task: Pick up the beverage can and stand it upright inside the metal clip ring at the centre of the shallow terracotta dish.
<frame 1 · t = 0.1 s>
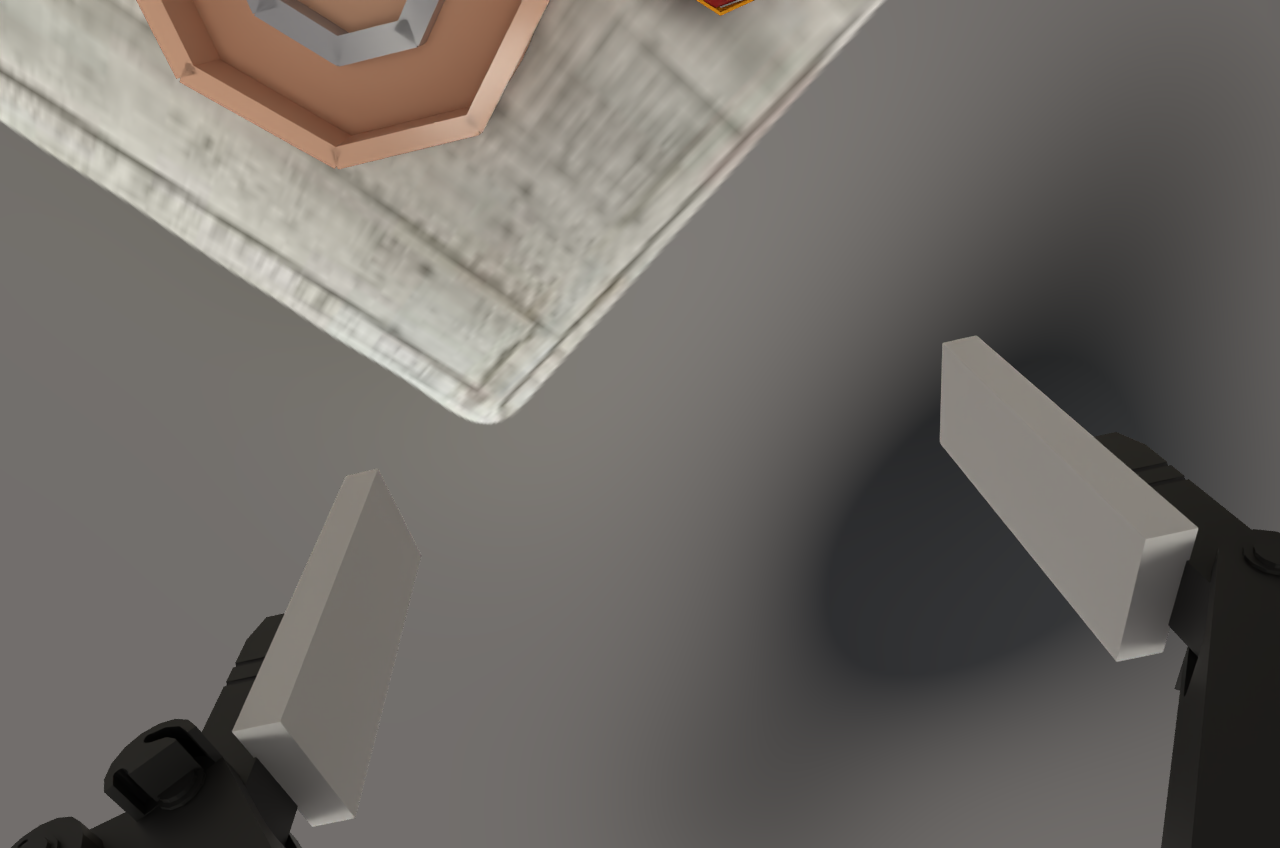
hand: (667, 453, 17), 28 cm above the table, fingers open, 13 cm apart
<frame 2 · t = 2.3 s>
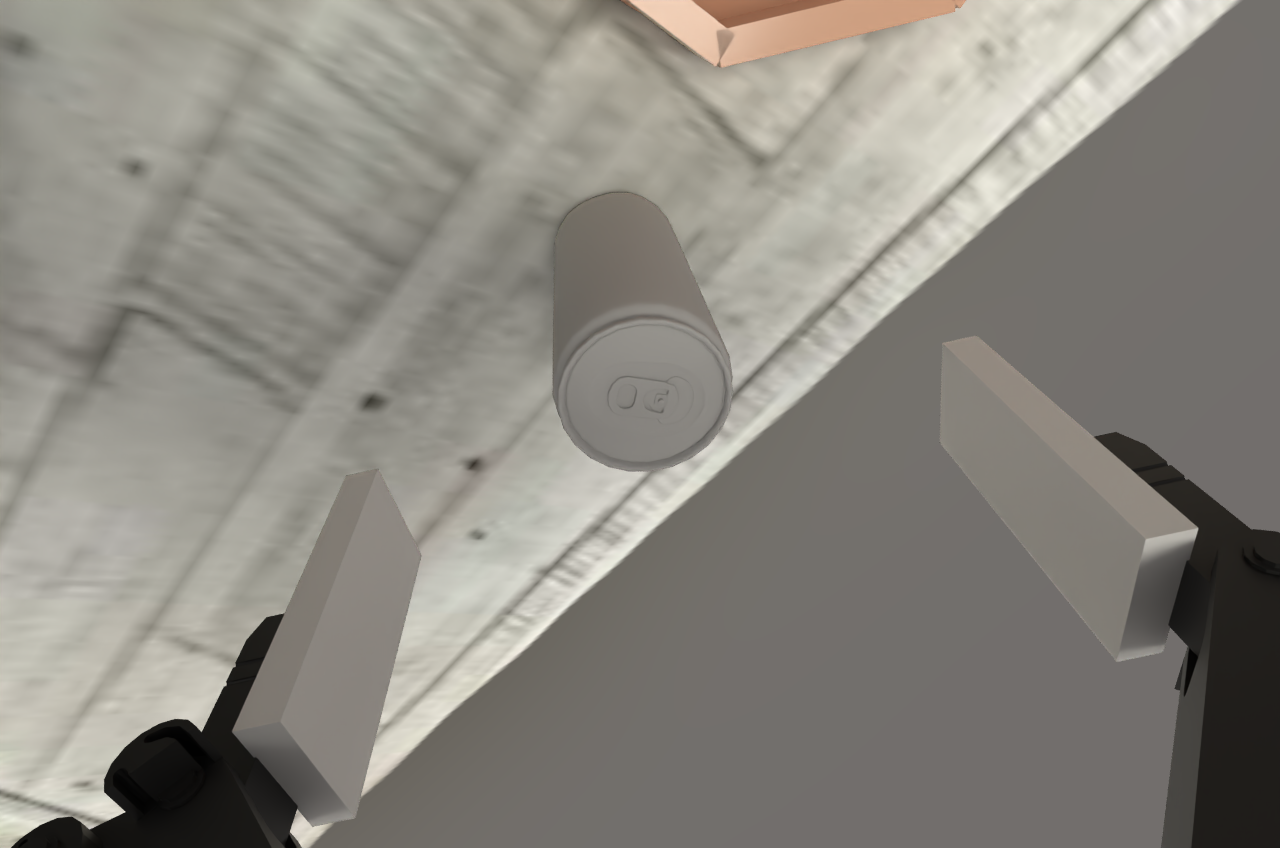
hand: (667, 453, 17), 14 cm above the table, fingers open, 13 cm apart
beverage can: (614, 247, 29), on the table
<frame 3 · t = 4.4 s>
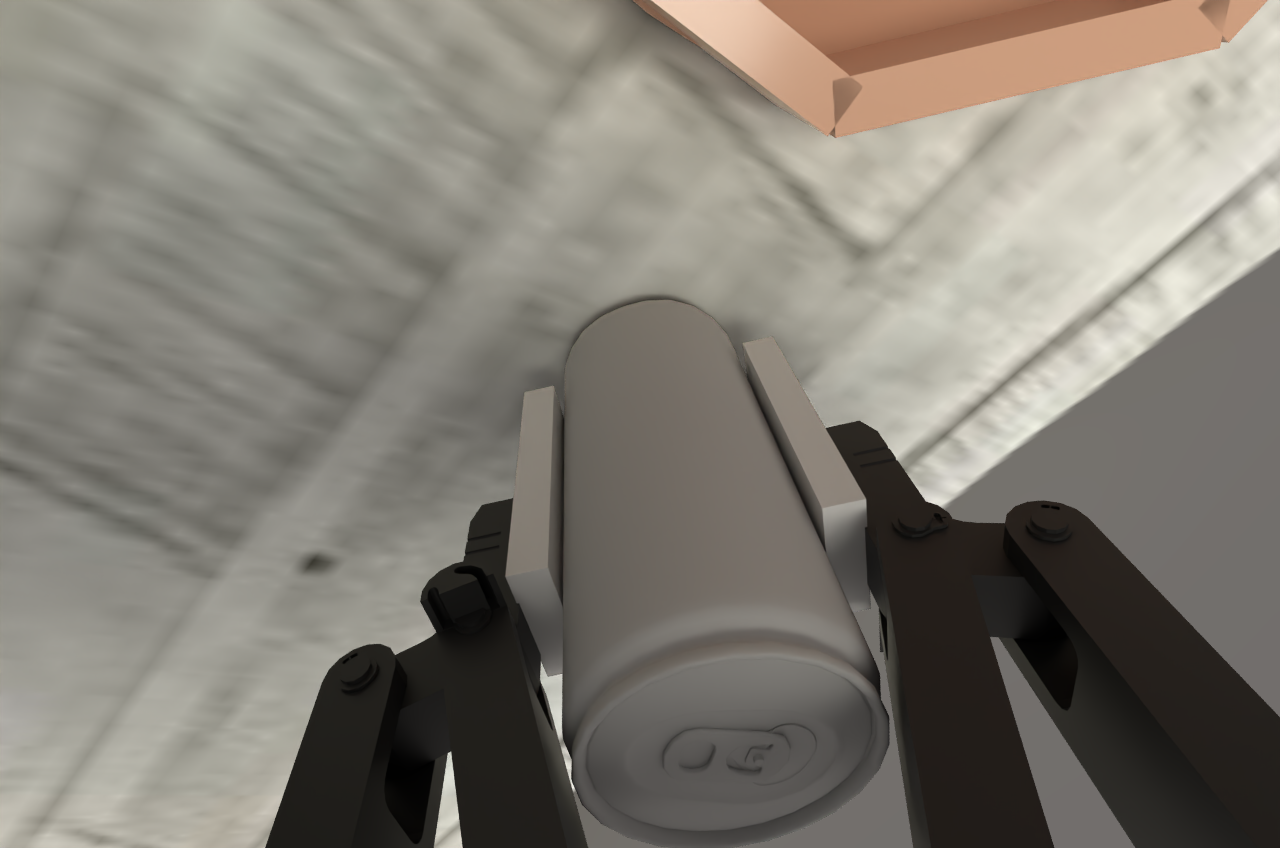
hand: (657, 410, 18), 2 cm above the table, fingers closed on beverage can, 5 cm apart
beverage can: (648, 367, 20), on the table, touching gripper
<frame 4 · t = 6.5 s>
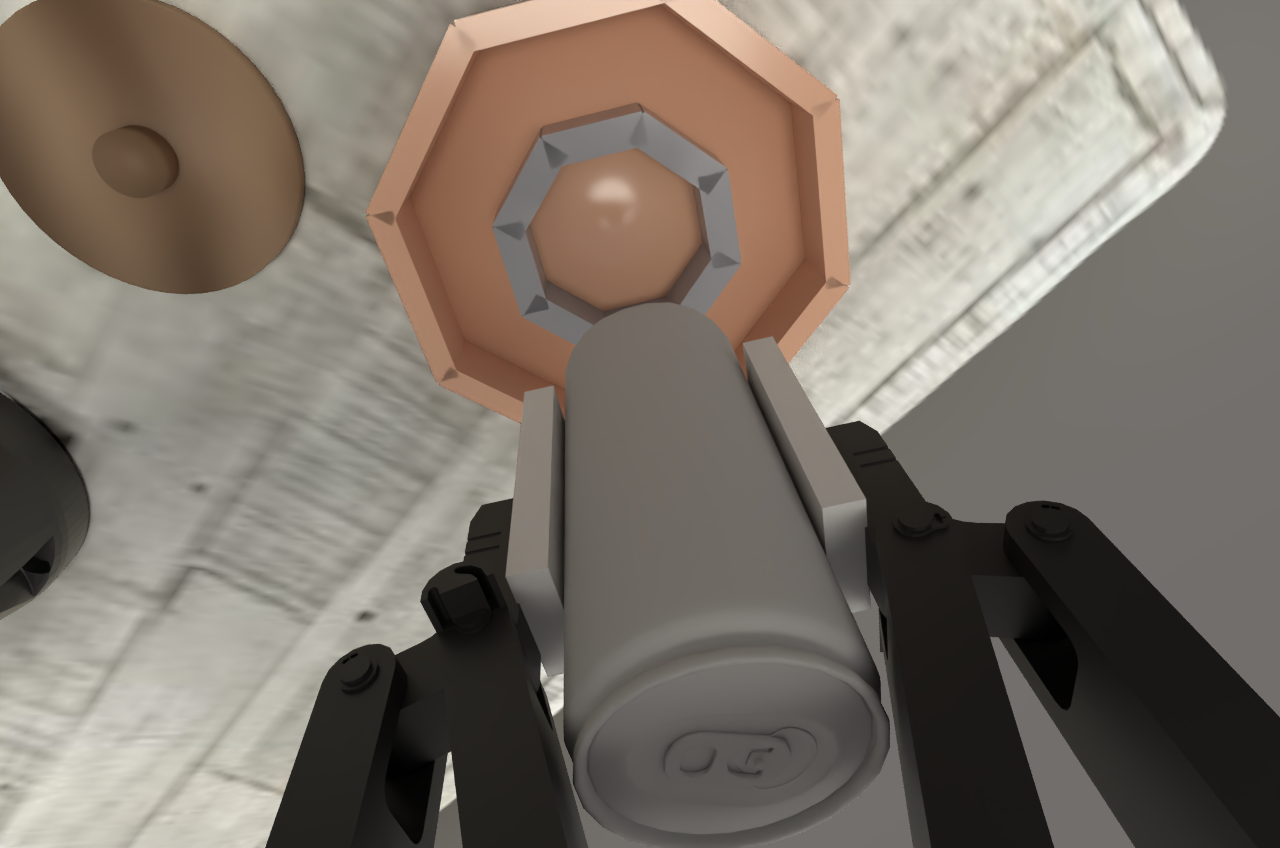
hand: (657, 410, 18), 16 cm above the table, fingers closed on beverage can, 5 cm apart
beverage can: (649, 369, 20), point 13 cm above the table, touching gripper
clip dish: (615, 222, 31), on the table
walnut lid: (162, 151, 29), on the table
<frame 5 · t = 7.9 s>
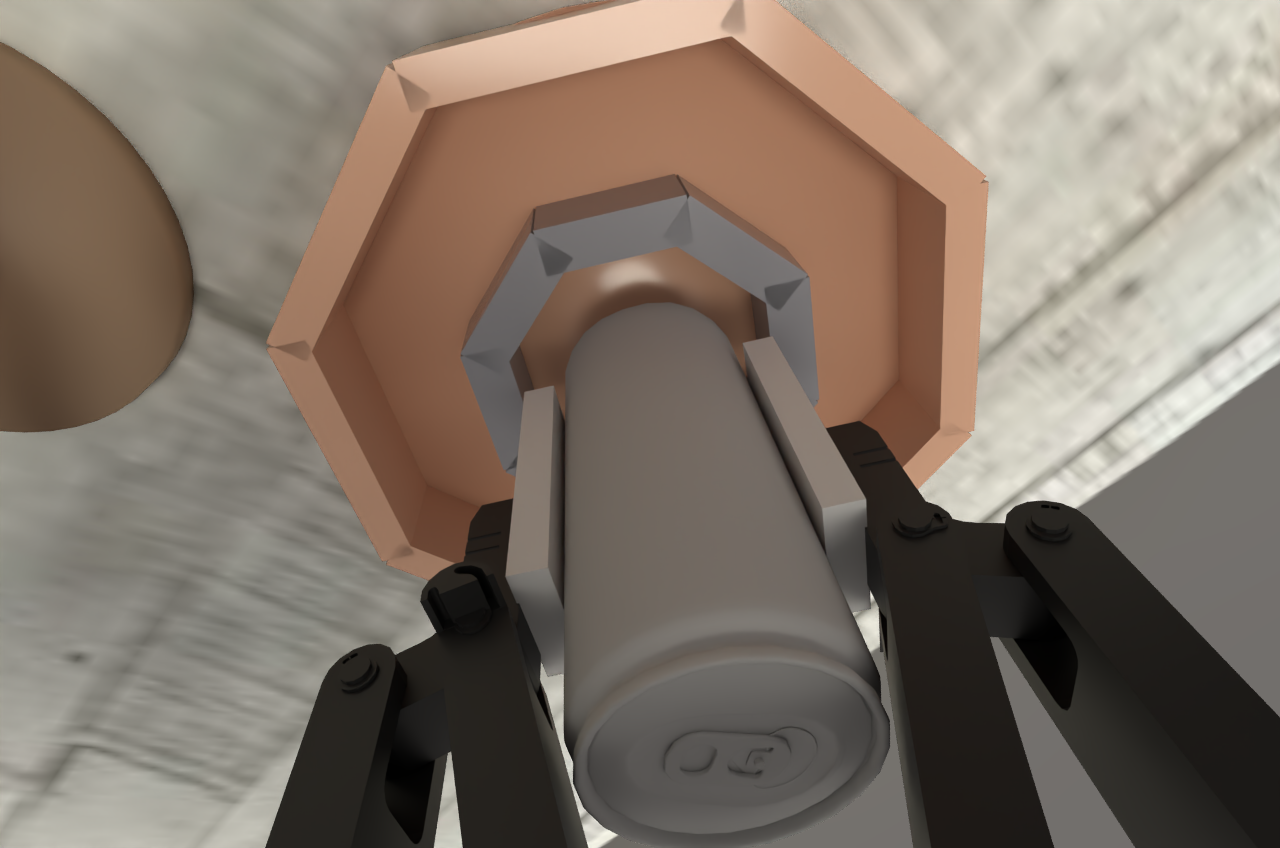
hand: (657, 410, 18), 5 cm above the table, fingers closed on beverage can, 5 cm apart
beverage can: (649, 369, 20), point 2 cm above the table, touching gripper
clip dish: (637, 331, 22), on the table
when the fingers open (4 cm above the table, at t = 8.7 s): beverage can stays where it is, resting on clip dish.
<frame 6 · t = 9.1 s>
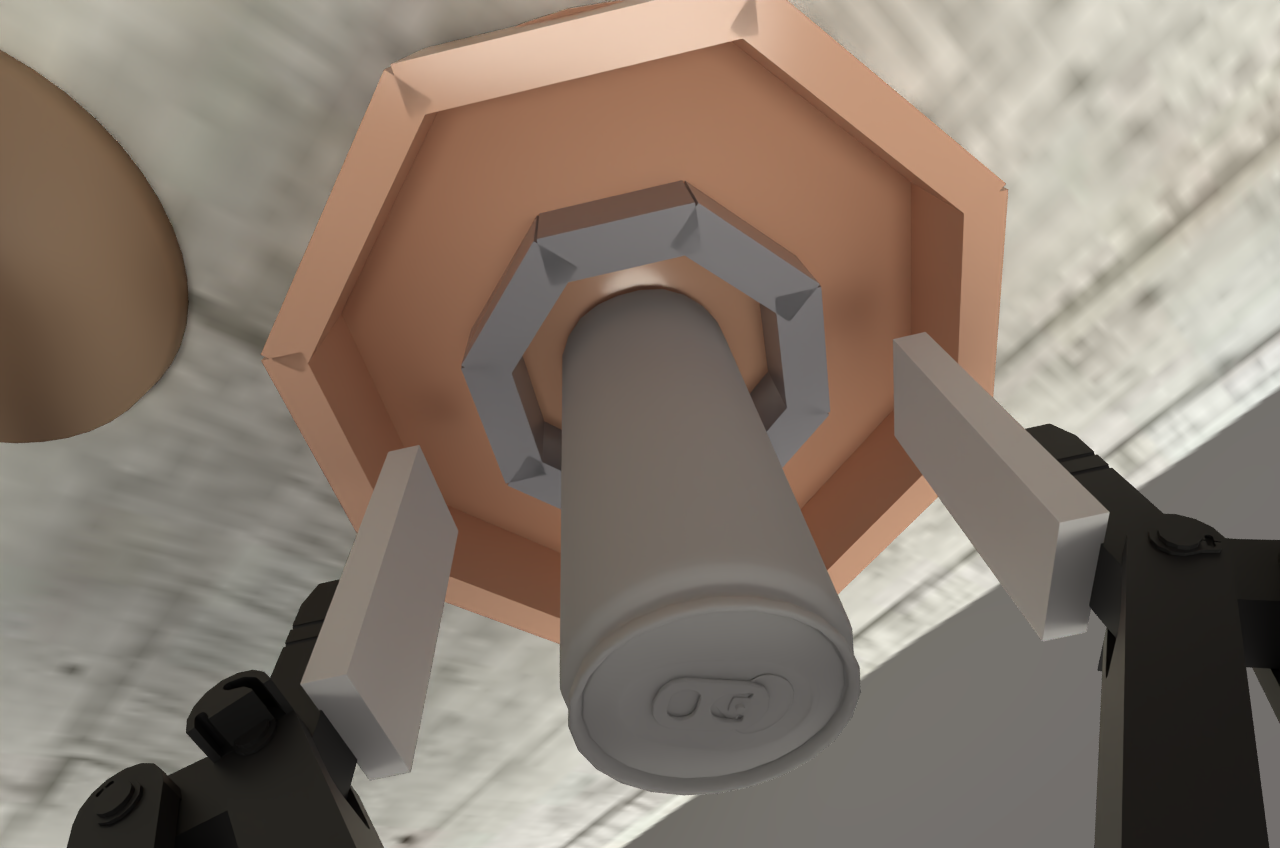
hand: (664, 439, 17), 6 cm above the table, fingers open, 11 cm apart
beverage can: (643, 354, 21), point 1 cm above the table, touching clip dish
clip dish: (643, 340, 22), on the table
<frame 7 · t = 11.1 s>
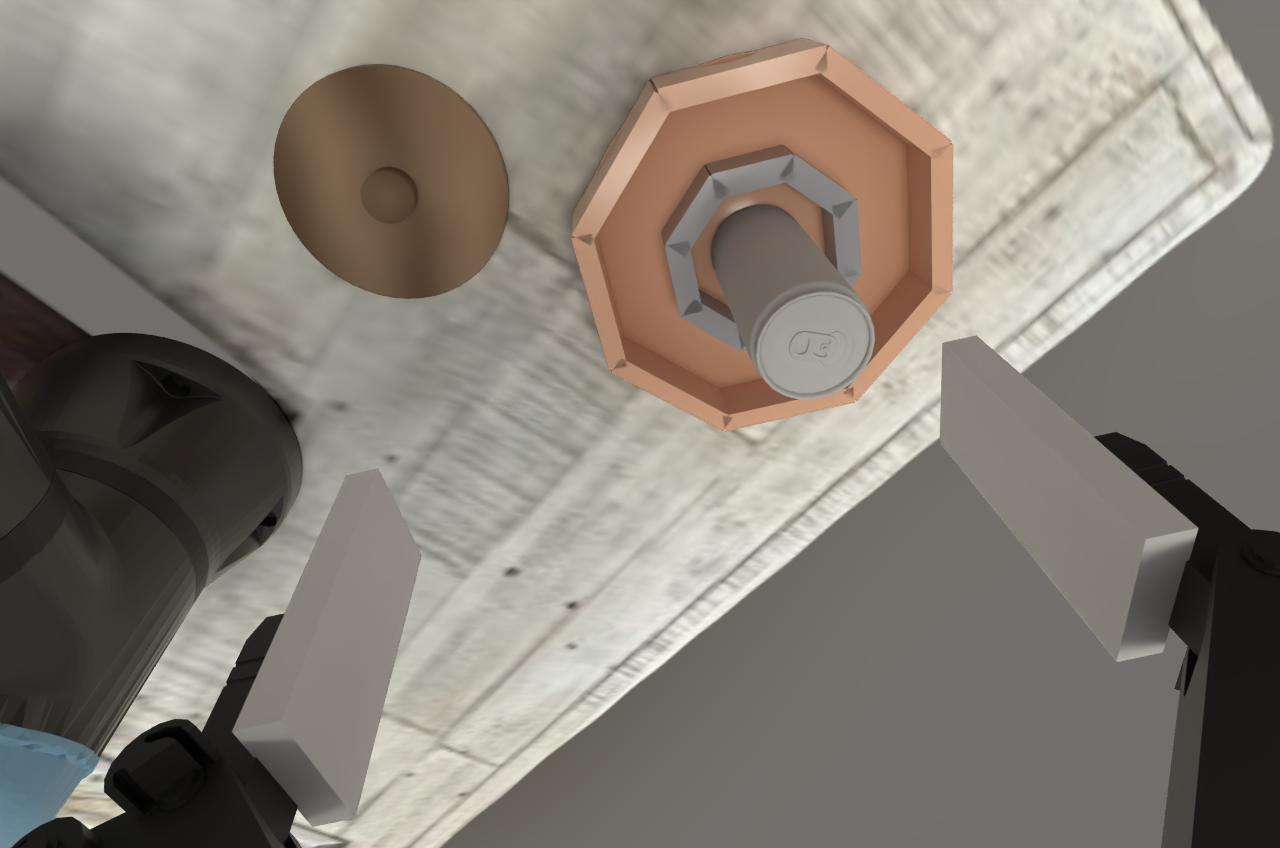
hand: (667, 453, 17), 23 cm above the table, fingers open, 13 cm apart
beverage can: (754, 246, 37), point 1 cm above the table, touching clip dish
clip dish: (752, 240, 38), on the table
walnut lid: (399, 185, 36), on the table
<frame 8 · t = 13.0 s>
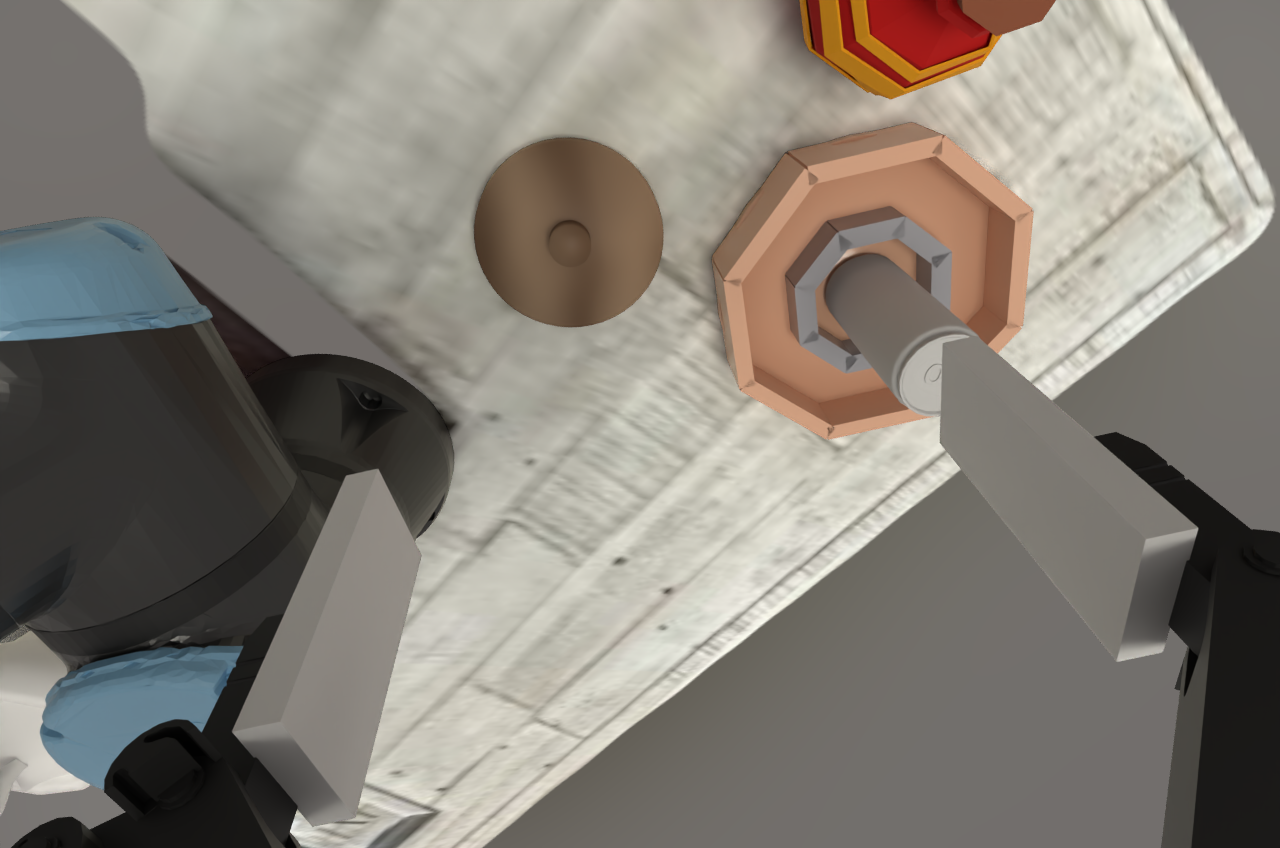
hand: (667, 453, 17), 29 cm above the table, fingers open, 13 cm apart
beverage can: (858, 286, 45), point 1 cm above the table, touching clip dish
potted plant: (95, 631, 56), on the table
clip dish: (855, 280, 46), on the table
walnut lid: (569, 233, 43), on the table
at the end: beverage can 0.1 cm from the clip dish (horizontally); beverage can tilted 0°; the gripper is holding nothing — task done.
